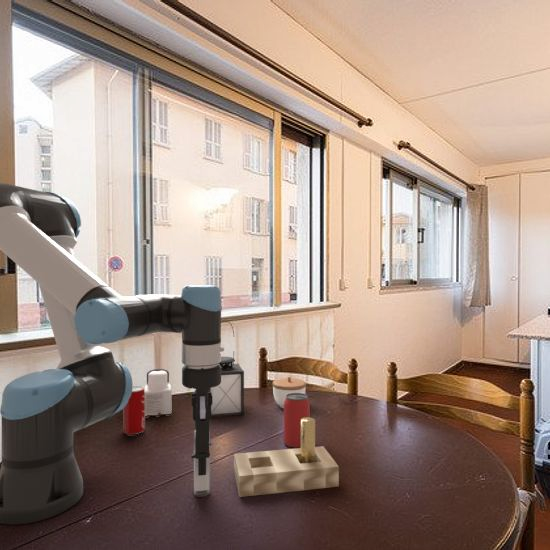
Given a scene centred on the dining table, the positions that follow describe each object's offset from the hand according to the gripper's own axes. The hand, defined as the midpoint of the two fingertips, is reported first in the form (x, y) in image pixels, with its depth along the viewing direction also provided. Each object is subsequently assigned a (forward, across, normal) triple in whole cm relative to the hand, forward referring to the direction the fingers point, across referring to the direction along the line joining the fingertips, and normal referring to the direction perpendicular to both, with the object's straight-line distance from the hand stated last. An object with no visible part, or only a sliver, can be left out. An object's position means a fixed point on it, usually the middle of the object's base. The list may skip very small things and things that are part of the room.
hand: (201, 484), depth 80 cm
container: (+2, +50, +12) cm, 51 cm away
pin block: (+2, +2, -17) cm, 17 cm away
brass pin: (+2, +2, -22) cm, 22 cm away
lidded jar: (+2, +48, -29) cm, 56 cm away
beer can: (+2, +19, -24) cm, 31 cm away
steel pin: (+2, 0, 0) cm, 2 cm away
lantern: (+2, +48, -8) cm, 49 cm away
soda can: (+2, +35, +17) cm, 39 cm away
